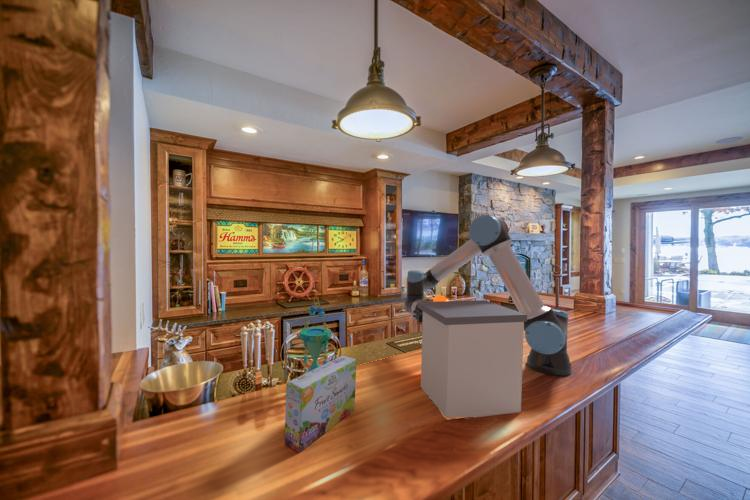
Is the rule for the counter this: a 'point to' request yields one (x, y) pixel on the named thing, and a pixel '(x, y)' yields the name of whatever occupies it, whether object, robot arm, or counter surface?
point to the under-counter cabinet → (472, 357)
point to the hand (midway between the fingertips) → (447, 324)
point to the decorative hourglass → (315, 339)
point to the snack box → (319, 401)
